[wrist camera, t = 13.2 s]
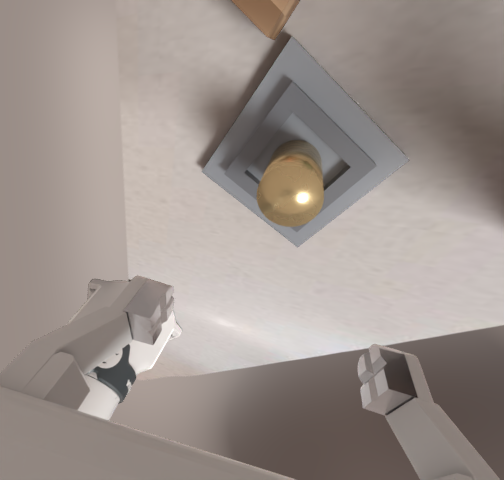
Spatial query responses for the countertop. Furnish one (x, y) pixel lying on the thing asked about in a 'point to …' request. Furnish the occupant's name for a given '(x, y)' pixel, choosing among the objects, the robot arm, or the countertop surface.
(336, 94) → the grey square tray
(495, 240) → the countertop surface
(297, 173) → the cylinder
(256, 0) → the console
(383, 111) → the countertop surface
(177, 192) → the countertop surface
